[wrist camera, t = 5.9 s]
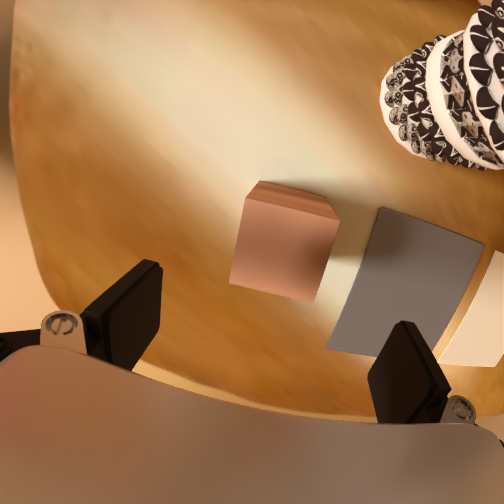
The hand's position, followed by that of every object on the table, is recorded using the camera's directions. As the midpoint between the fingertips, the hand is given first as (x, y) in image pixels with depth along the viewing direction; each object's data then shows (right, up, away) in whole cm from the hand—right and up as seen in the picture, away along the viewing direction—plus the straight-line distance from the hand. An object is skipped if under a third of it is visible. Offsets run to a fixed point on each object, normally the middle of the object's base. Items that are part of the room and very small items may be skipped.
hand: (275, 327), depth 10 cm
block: (+2, +5, +11) cm, 13 cm away
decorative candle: (+13, +14, +7) cm, 20 cm away
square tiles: (+20, -3, +12) cm, 24 cm away
